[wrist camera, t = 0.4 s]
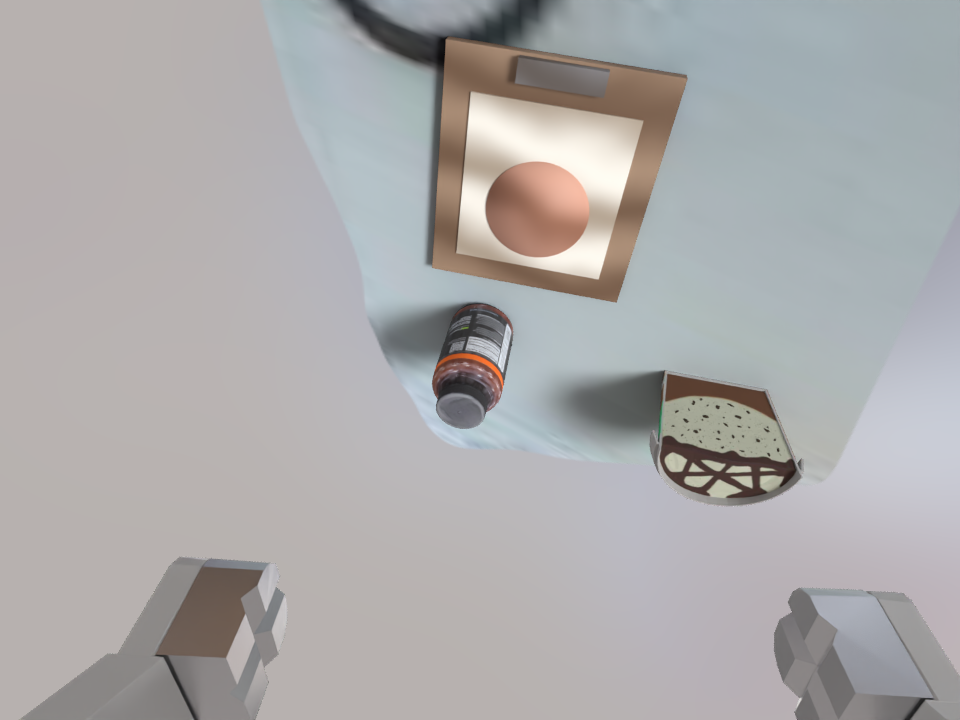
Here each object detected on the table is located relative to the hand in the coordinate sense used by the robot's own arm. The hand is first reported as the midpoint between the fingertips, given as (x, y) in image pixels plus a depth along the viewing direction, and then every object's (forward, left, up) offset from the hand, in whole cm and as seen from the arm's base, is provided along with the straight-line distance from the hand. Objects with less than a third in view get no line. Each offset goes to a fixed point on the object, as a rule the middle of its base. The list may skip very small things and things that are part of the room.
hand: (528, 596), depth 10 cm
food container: (+30, +17, -39) cm, 52 cm away
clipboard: (+11, -2, -39) cm, 40 cm away
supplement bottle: (+26, -5, -39) cm, 47 cm away
